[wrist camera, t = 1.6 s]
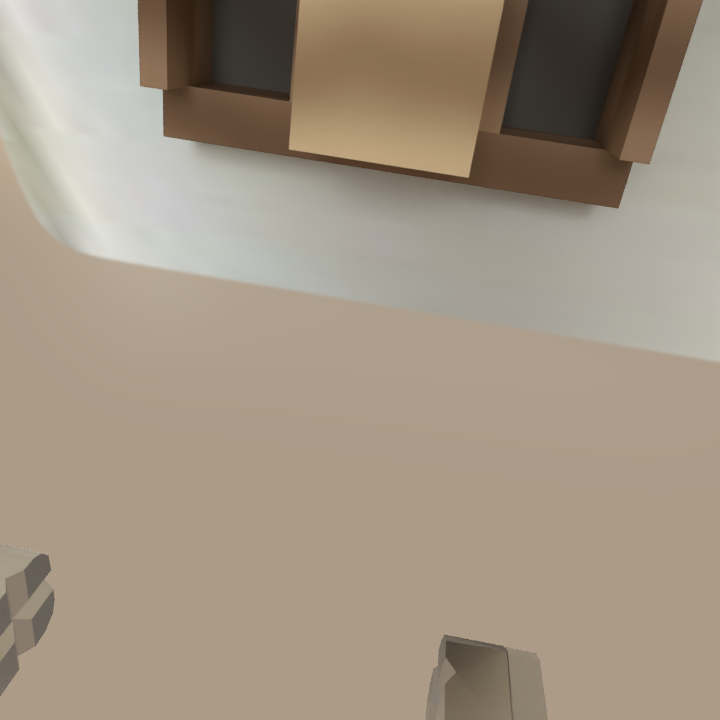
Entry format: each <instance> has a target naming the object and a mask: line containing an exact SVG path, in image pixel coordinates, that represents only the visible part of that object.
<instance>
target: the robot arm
mask: <svg viewBox="0 0 720 720" xmlns="http://www.w3.org/2000/svg"><path fill="white" fill-rule="evenodd" d="M50 571H51V568H50V562H49V556H48V555H45V554H42V553H37V552H33V551H29V550H25V549H21V548H16V547H12V546H8V545H3V544H0V696H1V694H2V693H3V692H4V690H5V689H6V687H7V686H8V684H9V683H10V682H11V680H12V679H13V677H14V676H15V675H16V673H17V672H18V670H19V661H18V656H19V655H20V654H22V653H24V652H26V651H28V650H29V649H31V648H33V647H35V646H36V644H37V643H38V641H39V640H40V638H41V637H42V635H43V634H44V632H45V631H46V628H47V626H48V623H49V621H50V619H51V616H52V614H53V607H54V591H53V588H52V587H51V586H50V585H49V584H48V583H47V581H46V580H45V577H46V576H47V575H48V573H49V572H50ZM426 720H548V719H547V711H546V704H545V697H544V689H543V682H542V674H541V667H540V659H539V658H538V656H537V654H536V653H532V652H528V651H522V650H518V649H512V648H507V647H505V648H504V647H503V646H500V645H495V644H489V643H484V642H479V641H473V640H469V639H463V638H458V637H453V636H448V635H444V636H443V638H442V641H441V644H440V648H439V659H438V666H437V667H436V668H434V670H433V674H432V678H431V682H430V688H429V694H428V700H427V710H426Z"/></svg>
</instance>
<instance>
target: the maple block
mask: <svg viewBox="0 0 720 720" xmlns="http://www.w3.org/2000/svg"><path fill="white" fill-rule="evenodd" d="M503 5H504V0H300V4H299V18H298V31H297V45H296V58H295V72H294V85H293V99H292V113H291V126H290V140H289V149H290V150H296V151H302V152H309V153H315V154H321V155H328V156H334V157H340V158H346V159H353V160H359V161H365V162H372V163H378V164H384V165H391V166H397V167H403V168H410V169H416V170H422V171H429V172H435V173H441V174H448V175H454V176H460V177H467V178H469V173H470V168H471V163H472V158H473V154H474V149H475V144H476V139H477V134H478V129H479V124H480V119H481V114H482V109H483V104H484V99H485V94H486V89H487V84H488V79H489V74H490V69H491V64H492V60H493V55H494V50H495V45H496V40H497V35H498V30H499V25H500V20H501V15H502V10H503Z"/></svg>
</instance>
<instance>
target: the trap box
mask: <svg viewBox="0 0 720 720" xmlns="http://www.w3.org/2000/svg"><path fill="white" fill-rule="evenodd" d="M702 1H703V0H504V5H503V10H502V15H501V20H500V25H499V30H498V35H497V40H496V45H495V50H494V55H493V60H492V64H491V69H490V74H489V79H488V84H487V89H486V94H485V99H484V104H483V109H482V114H481V119H480V124H479V129H478V134H477V139H476V144H475V149H474V154H473V158H472V163H471V168H470V173H469V178H467V177H460V176H454V175H448V174H441V173H435V172H429V171H422V170H416V169H410V168H403V167H397V166H391V165H384V164H378V163H372V162H365V161H359V160H353V159H346V158H340V157H334V156H328V155H321V154H315V153H309V152H302V151H296V150H290V149H289V140H290V126H291V113H292V99H293V85H294V72H295V58H296V45H297V31H298V18H299V4H300V0H138V23H139V59H140V86H144V87H150V88H157V89H163V126H164V136H166V137H172V138H178V139H184V140H191V141H197V142H203V143H210V144H216V145H222V146H229V147H235V148H241V149H247V150H254V151H260V152H266V153H273V154H279V155H285V156H292V157H298V158H304V159H311V160H317V161H323V162H329V163H336V164H342V165H348V166H355V167H361V168H367V169H374V170H380V171H386V172H392V173H399V174H405V175H411V176H418V177H424V178H430V179H437V180H443V181H449V182H455V183H462V184H468V185H474V186H481V187H487V188H493V189H500V190H506V191H512V192H518V193H525V194H531V195H537V196H544V197H550V198H556V199H563V200H569V201H575V202H582V203H588V204H594V205H600V206H607V207H613V208H619V204H620V201H621V198H622V195H623V192H624V189H625V185H626V182H627V179H628V176H629V173H630V170H631V166H632V163H633V162H638V163H644V164H650V161H651V157H652V154H653V151H654V148H655V145H656V142H657V139H658V136H659V133H660V130H661V127H662V124H663V121H664V118H665V115H666V111H667V108H668V105H669V102H670V99H671V96H672V93H673V90H674V87H675V84H676V81H677V78H678V75H679V72H680V69H681V66H682V62H683V59H684V56H685V53H686V50H687V47H688V44H689V41H690V38H691V35H692V32H693V29H694V26H695V23H696V20H697V17H698V13H699V10H700V7H701V4H702Z"/></svg>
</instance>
